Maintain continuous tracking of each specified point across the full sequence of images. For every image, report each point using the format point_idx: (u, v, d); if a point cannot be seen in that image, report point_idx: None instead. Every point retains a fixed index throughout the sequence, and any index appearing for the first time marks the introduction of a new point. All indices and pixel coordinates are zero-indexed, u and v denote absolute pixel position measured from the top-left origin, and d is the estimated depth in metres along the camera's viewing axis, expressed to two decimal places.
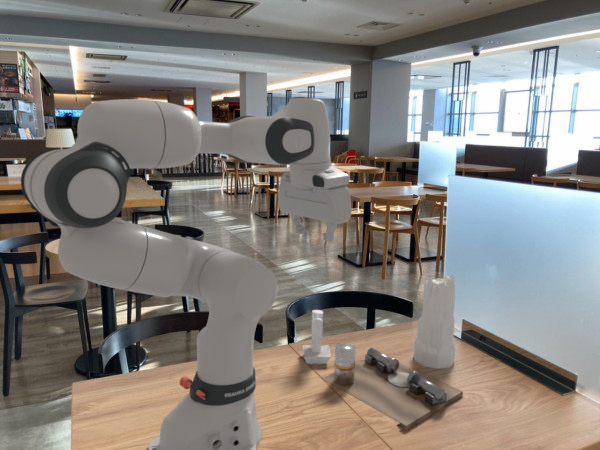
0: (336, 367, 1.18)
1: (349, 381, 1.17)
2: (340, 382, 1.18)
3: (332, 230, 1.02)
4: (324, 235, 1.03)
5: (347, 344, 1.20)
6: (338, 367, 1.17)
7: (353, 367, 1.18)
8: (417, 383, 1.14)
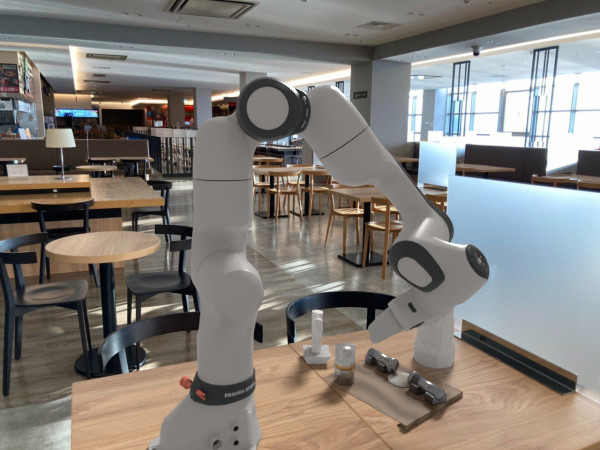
0: (336, 367, 1.18)
1: (349, 381, 1.17)
2: (340, 382, 1.18)
3: None
4: None
5: (347, 344, 1.20)
6: (338, 367, 1.17)
7: (353, 367, 1.18)
8: (417, 383, 1.14)
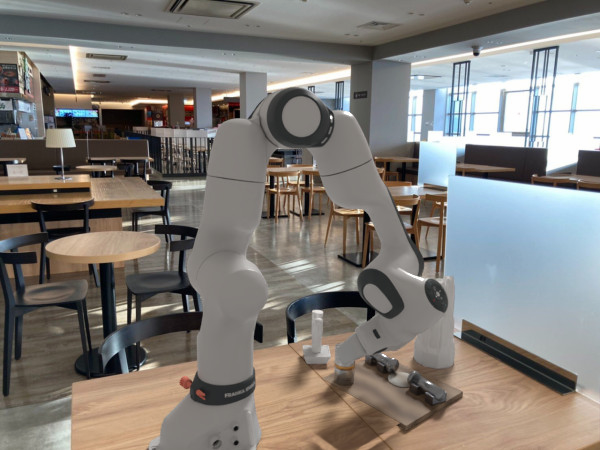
0: (336, 367, 1.18)
1: (349, 381, 1.17)
2: (340, 382, 1.18)
3: None
4: None
5: None
6: (338, 367, 1.17)
7: (353, 367, 1.18)
8: (417, 383, 1.14)
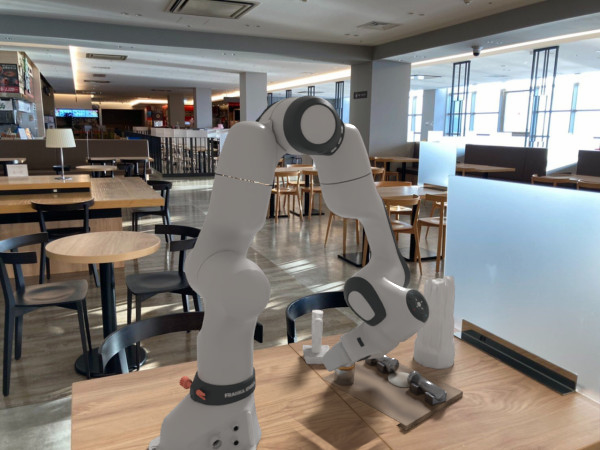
0: None
1: (349, 381, 1.17)
2: (340, 382, 1.18)
3: None
4: None
5: None
6: None
7: (353, 367, 1.18)
8: (417, 383, 1.14)
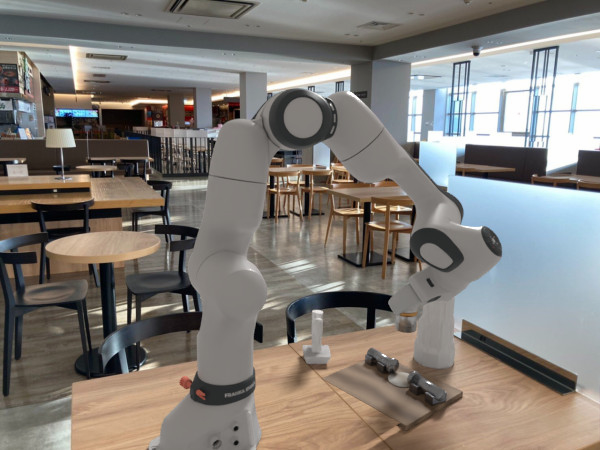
0: None
1: (412, 328, 1.16)
2: (403, 329, 1.16)
3: None
4: None
5: None
6: None
7: (416, 314, 1.16)
8: (417, 383, 1.14)
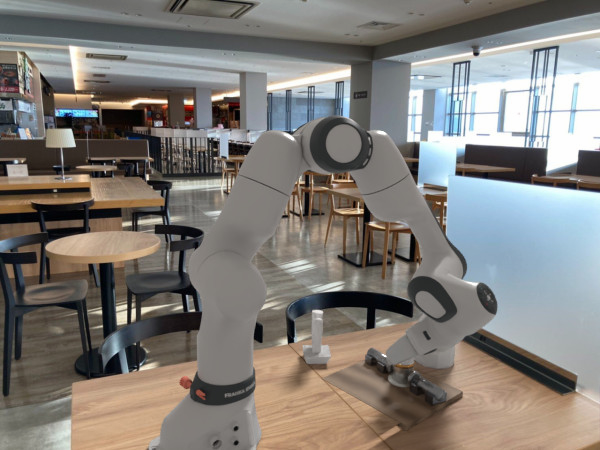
0: (395, 365, 1.19)
1: None
2: (399, 380, 1.18)
3: None
4: None
5: None
6: (397, 365, 1.18)
7: (412, 365, 1.18)
8: (417, 383, 1.14)
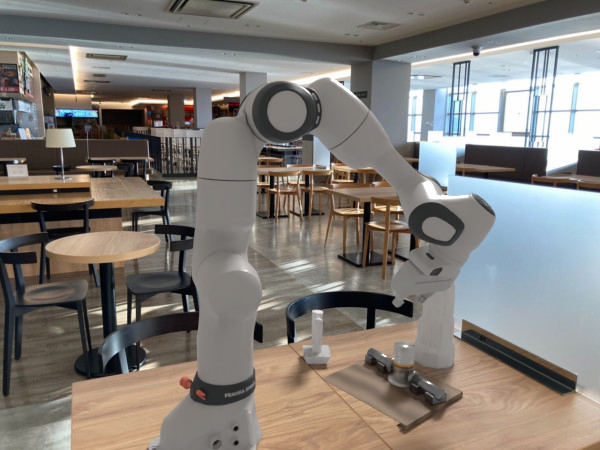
0: (395, 365, 1.19)
1: None
2: (399, 380, 1.18)
3: (399, 298, 1.09)
4: None
5: (405, 342, 1.20)
6: (397, 365, 1.18)
7: (412, 365, 1.18)
8: (417, 383, 1.14)
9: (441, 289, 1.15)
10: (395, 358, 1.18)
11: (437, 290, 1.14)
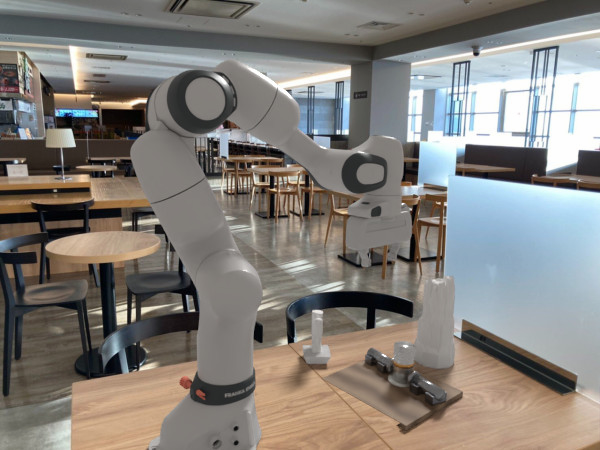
0: (395, 365, 1.19)
1: None
2: (399, 380, 1.18)
3: (363, 256, 1.11)
4: None
5: (405, 342, 1.20)
6: (397, 365, 1.18)
7: (412, 365, 1.18)
8: (417, 383, 1.14)
9: (403, 237, 1.17)
10: (395, 358, 1.18)
11: (399, 239, 1.16)
